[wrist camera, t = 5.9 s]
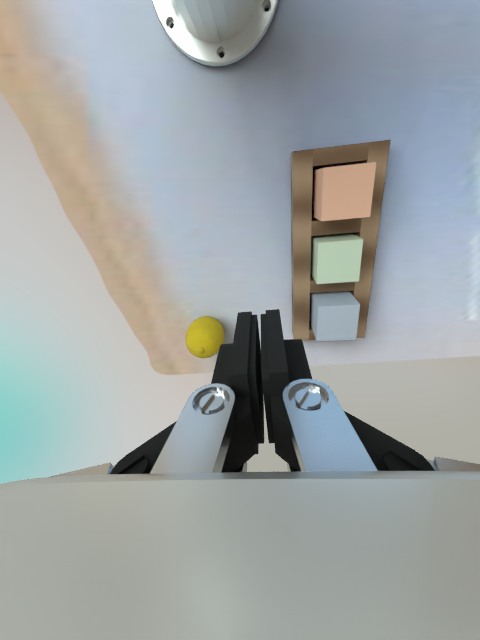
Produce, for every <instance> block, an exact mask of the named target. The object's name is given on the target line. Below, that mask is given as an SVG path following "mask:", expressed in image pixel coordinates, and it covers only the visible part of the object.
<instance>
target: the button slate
mask: <svg viewBox="0 0 480 640" xmlns="http://www.w3.org/2000/svg"><path fill="white" fill-rule="evenodd" d="M359 310H360V304H359V302H358V301H357V300H356V299H355V298H354V296H353V295H352V294H351V293H350V292H349V291H336V292H320V293H311V322H310V324H311V327H312V330H313V332H314V335H315V338H316V341H336V340H356V336H357V327H358V319H359Z"/></svg>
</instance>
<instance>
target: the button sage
mask: <svg viewBox="0 0 480 640" xmlns="http://www.w3.org/2000/svg"><path fill="white" fill-rule="evenodd" d="M362 247H363V239H362V238H360V237H358V236H356V235H354V234H352V233H341V234H330V235H318V236H311V267H310V273H311V275H312V277H313V278H314V280H315V282H316V284H326V283H341V282H357V281H359V275H360V266H361V257H362Z"/></svg>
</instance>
